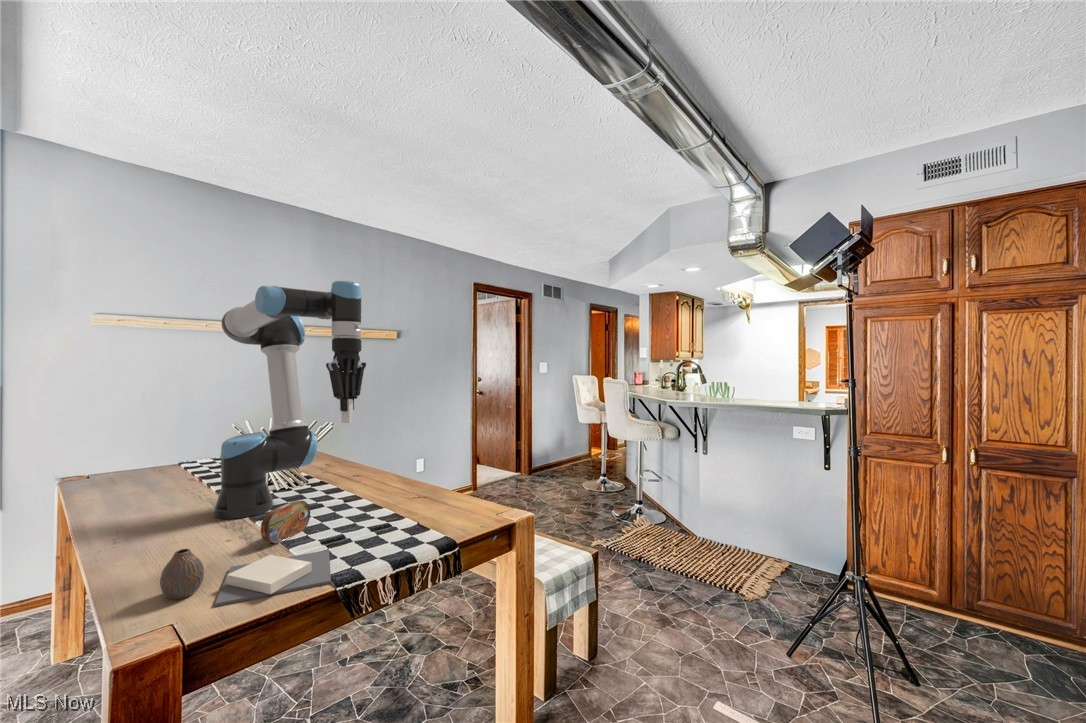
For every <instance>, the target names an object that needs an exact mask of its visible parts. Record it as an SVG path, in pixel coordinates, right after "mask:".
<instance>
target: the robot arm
mask: <svg viewBox="0 0 1086 723" xmlns="http://www.w3.org/2000/svg"><path fill="white" fill-rule="evenodd" d="M254 297H255V299H253V300H252V301H251V302H248V303H247V304H246V305H244V306H238V307H237V306H236V307H234V308H232V309H230V310H228V311H227V312H225V313H224V314H223V316H222V318H221V328H222V330H223V332H224V334H226V336H227V337H228V338H230V339H231V340H233V341H235V342H237V343H240V344H242V345H243V344H245V345H257V346H260V352H261V353H262V354H264V355H265V356H266V361H267V372H268V381H269V391H270V402H271V411H272V420H273V426H272V427H271V428H270V429H269V430H268V433H269V434H268V435H266V433H265V432H251V433H250V432H248V433H244V434H239V435H235V436H233V437H229V438H228V439H226V440H224V441H223V442H222V444H221V449H220V456H219V458H220V477H221V478H220V482H221V484H220V485H221V487H220V491H219V495H218V498H217V501H216V503H215V506H214V512H213V513H214V517H215V518H217V519H222V520H223V519H225V520H229V519H231V520H233V519H241V518H242V519H243V518H247V517H252V515H253V516H257V515H259V514H263V513H266V512H269V510H271V509H272V508H273V506H274V504H273V503H274V502H273V497H272V494H271V492H270V489H269V487H268V484H267V474H269V473H275V472H282V471H286V470H292V469H299V468H303V467H307V466H309V465H310V464H312V463H313V461H315V458H316V456H317V452H318V446H319V445H318V443H319V442H318V437H317V433H316V432H315V431H313V430H310V429H309V428H310V427H309V425H308V424H307V423H306V422H304V420H303V411H302V409H303V408H302V402H301V393H300V383H299V376H298V367H297V366H298V364H297V358H296V355H297V352H298V351H299V350H300V346H301V345H303V344H304V342H305V340H306V338H305V336H306V330H305V325H304V322H303V320H302V318H304V317H305V318H314V319H315V318H316V319H319V320H331V336H332V337H333V338H332V339H331V351H332V352H333V353H334V355H333V357H332V361H331V362H327V363H326V364H325V367H326V370H328V374H329V379H330V383H331V389H332V394H333V397H334V398H336V399H337V400H339V407H340V408H339V410H340V412H341V414H340V415H341V416H340V417H341V420H340V422H341V423H342V424H352V423H354V410H355V400H357V399H358V398H359V396H360V395H361V390H362V385H363V378H364V371H365V369H366V367H367V363H366V362H363V361H361V357H360V353H361V351H362V339H361V338H360V337H362V297H363V296H362V288H361V285H360V284H359V283H358V282H356V281H350V280H349V281H348V280H336V281H333V282H332V283H331V289H330V291H318V290H310V289H309V290H308V289H299V288H292V287H291V288H289V287H284V286H282V287H281V286H277V285H262V286H261V285H260V286H259V287H258V288H257V291H256V292H255V296H254ZM301 317H302V318H301Z"/></svg>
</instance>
